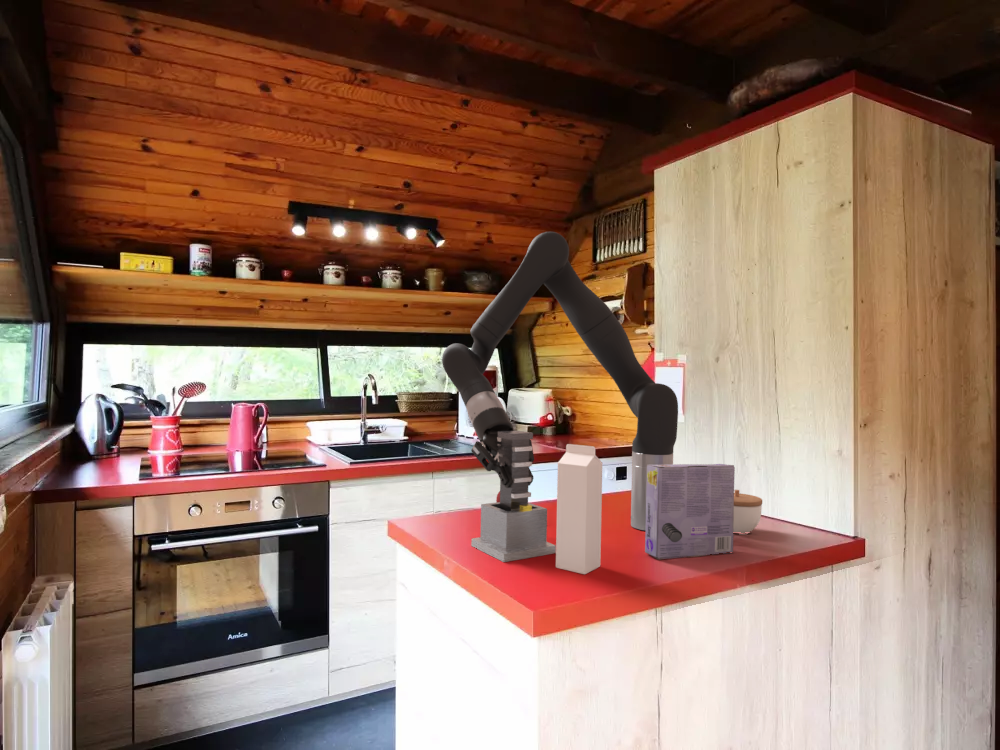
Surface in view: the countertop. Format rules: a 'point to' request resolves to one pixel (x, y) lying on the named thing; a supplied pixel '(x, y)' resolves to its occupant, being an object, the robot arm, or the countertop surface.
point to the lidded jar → (746, 512)
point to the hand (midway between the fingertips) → (519, 484)
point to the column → (515, 468)
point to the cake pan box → (689, 510)
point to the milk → (579, 510)
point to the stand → (513, 532)
